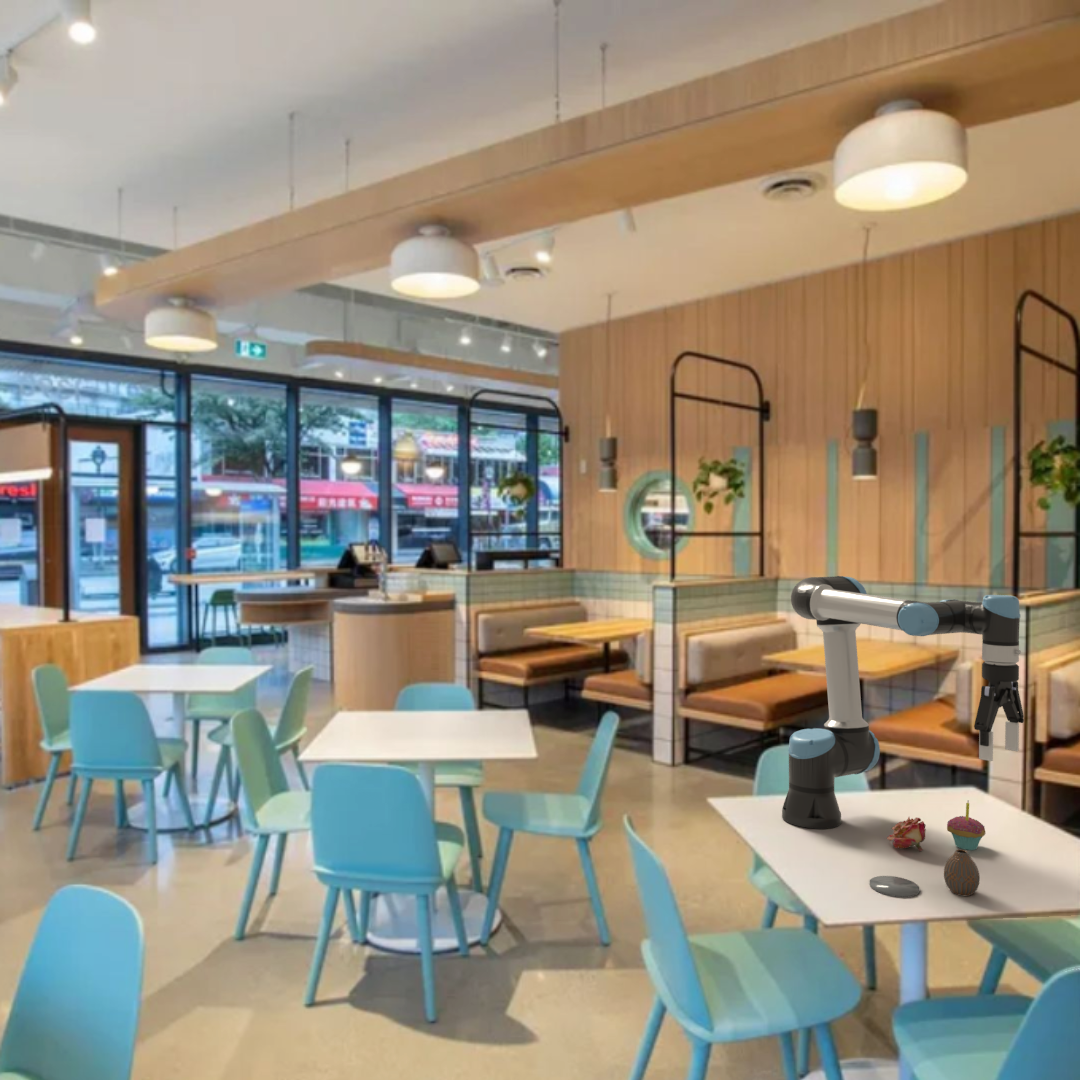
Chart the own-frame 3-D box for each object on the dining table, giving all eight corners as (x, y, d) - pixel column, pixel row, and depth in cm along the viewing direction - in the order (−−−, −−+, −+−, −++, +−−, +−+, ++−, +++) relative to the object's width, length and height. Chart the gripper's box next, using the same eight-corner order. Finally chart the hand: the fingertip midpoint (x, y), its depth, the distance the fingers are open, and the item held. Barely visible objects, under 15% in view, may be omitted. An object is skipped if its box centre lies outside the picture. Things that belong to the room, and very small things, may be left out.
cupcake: (989, 854, 210) (990, 804, 210) (951, 851, 212) (951, 801, 212) (979, 841, 218) (979, 793, 218) (942, 839, 220) (942, 791, 220)
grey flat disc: (860, 885, 191) (860, 883, 191) (885, 874, 197) (885, 872, 197) (903, 901, 183) (903, 898, 183) (928, 889, 189) (928, 886, 189)
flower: (937, 840, 214) (917, 810, 217) (937, 844, 206) (916, 813, 209) (902, 859, 217) (882, 829, 220) (900, 864, 209) (880, 832, 212)
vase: (937, 886, 191) (937, 845, 191) (967, 885, 192) (967, 844, 192) (955, 899, 184) (955, 857, 184) (986, 898, 185) (986, 856, 185)
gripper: (993, 670, 191) (991, 767, 191) (1040, 659, 207) (1038, 749, 207) (958, 665, 197) (957, 760, 197) (1006, 655, 212) (1005, 743, 213)
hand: (999, 755), depth 202 cm, fingers open, 13 cm apart
